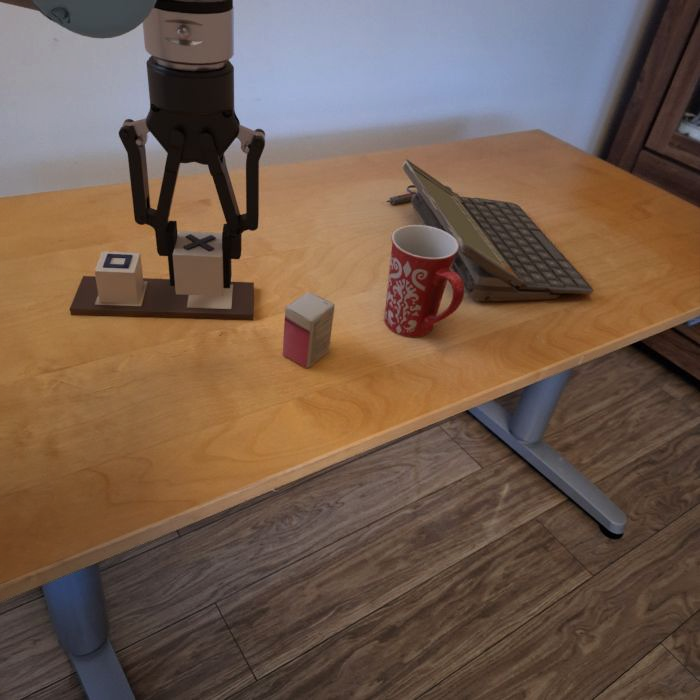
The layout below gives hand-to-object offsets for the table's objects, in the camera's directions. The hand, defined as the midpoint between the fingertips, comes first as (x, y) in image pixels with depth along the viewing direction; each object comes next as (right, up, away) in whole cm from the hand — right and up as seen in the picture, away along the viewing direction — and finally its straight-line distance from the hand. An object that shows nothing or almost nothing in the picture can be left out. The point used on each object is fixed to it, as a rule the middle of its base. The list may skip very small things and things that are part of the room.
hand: (201, 280), depth 69 cm
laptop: (+40, +9, +40) cm, 58 cm away
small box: (+11, -8, +13) cm, 19 cm away
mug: (+26, -5, +20) cm, 33 cm away
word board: (-9, -1, +18) cm, 20 cm away
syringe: (+29, +22, +53) cm, 65 cm away
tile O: (-15, 0, +17) cm, 22 cm away
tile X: (0, 0, 0) cm, 0 cm away
